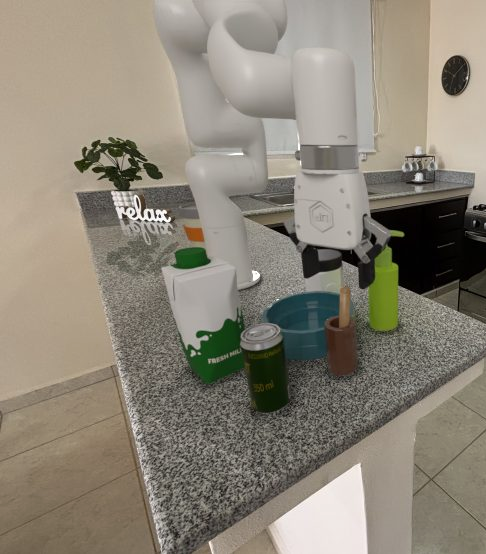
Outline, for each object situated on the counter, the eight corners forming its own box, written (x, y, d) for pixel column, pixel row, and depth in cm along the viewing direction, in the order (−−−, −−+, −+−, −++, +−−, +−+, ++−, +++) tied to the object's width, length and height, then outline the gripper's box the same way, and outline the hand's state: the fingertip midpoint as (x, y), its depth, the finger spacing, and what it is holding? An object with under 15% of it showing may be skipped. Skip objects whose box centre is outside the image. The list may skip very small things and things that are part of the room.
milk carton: (235, 346, 64) (214, 241, 56) (260, 366, 59) (240, 254, 51) (182, 368, 58) (150, 254, 50) (204, 393, 52) (172, 269, 45)
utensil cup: (322, 373, 57) (318, 326, 54) (339, 357, 62) (336, 312, 58) (347, 381, 56) (344, 333, 52) (362, 364, 60) (361, 318, 56)
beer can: (288, 386, 54) (278, 319, 50) (295, 409, 50) (285, 337, 45) (250, 397, 52) (237, 327, 47) (254, 422, 47) (240, 347, 43)
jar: (313, 315, 75) (308, 263, 71) (302, 301, 82) (296, 252, 77) (351, 306, 80) (349, 256, 75) (338, 293, 86) (335, 246, 82)
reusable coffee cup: (241, 249, 117) (233, 204, 111) (207, 260, 106) (196, 211, 100) (214, 244, 121) (206, 200, 115) (179, 254, 111) (168, 206, 105)
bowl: (246, 348, 63) (240, 319, 61) (305, 310, 78) (302, 285, 75) (321, 372, 58) (318, 341, 55) (370, 326, 72) (370, 300, 69)
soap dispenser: (404, 331, 70) (406, 235, 63) (370, 334, 69) (367, 236, 61) (400, 317, 75) (401, 227, 68) (368, 319, 74) (366, 228, 67)
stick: (336, 367, 58) (338, 286, 52) (341, 362, 59) (344, 283, 53) (344, 370, 57) (347, 289, 51) (349, 365, 59) (353, 285, 53)
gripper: (258, 159, 46) (275, 280, 52) (374, 164, 40) (377, 301, 46) (296, 157, 52) (307, 264, 59) (401, 161, 46) (401, 281, 52)
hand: (338, 280), depth 52 cm, fingers open, 9 cm apart
